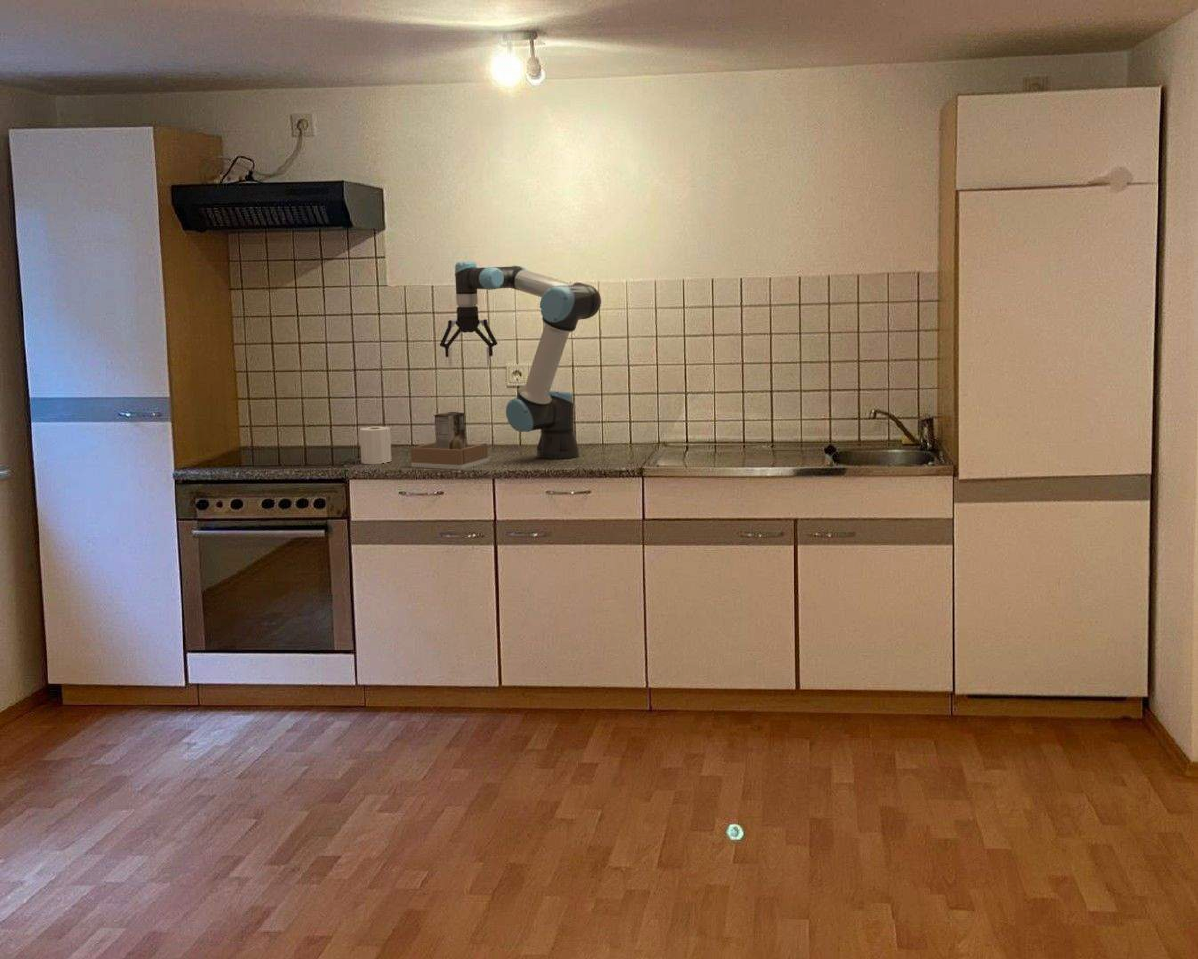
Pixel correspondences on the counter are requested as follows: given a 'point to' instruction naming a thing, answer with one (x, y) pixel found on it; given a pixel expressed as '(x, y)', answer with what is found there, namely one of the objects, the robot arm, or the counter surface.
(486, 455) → the tray
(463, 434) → the coffee box
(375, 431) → the toilet paper
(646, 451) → the counter surface
